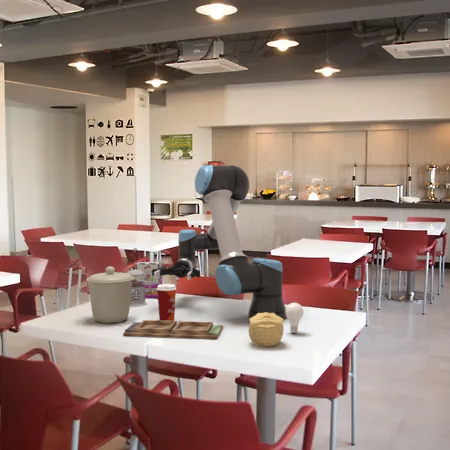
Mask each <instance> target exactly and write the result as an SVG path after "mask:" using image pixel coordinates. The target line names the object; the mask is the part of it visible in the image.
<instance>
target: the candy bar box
mask: <svg viewBox="0 0 450 450" xmlns="http://www.w3.org/2000/svg"><path fill="white" fill-rule="evenodd" d="M135 264H136V270H140V271H142V272H144V273H145V274H144V275H140V276H136V281H142V282H144V283H143V284H140V285H144V292H147V291H148V289H149V282H151V288H150V290H149V291H148V292H147V293H145V299H158V292H157V287H158V285H161V284H163V275H161V276H160V277H158V278H157V279H154V276H152V269H157V268H162V267H163V266H162V262H159V261H138V262H135ZM145 276H146V277H147V279H148V278H149V279H148V280H150V281H149V282H148V280H147V279H146V277H145ZM143 277H145V280H143ZM138 291H139V290H137V292H138ZM138 294H139V293H137V295H138ZM137 297H139V296H137Z"/></svg>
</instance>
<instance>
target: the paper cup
mask: <svg viewBox="0 0 450 450" xmlns="http://www.w3.org/2000/svg"><path fill="white" fill-rule="evenodd" d="M176 291H177V287H176V284H174V283H162V284H161V285H158V287H157V292H158V298H157V301H158V302H157V303H158V304H157V305H158V318H159V320H162V321H175V313H176V312H175V311H176V294H177V293H176Z"/></svg>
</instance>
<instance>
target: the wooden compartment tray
mask: <svg viewBox="0 0 450 450" xmlns="http://www.w3.org/2000/svg"><path fill="white" fill-rule="evenodd" d="M223 330H224V325H223V324H214V321H192V320H191V321H186V320H185V321H184V320H179V321H177V320H174V321H162V320H157V319H155V320H154V319H153V320H152V319H143V320H142V321H141V322H140V321H139V322H137V321H135V322H133V323H132V324H130V325H129V326H128V327H127V328H126V329H124V332H123V333H122V336H123V337H137V338H160V339H161V338H163V339H164V338H167V339H188V340H189V339H193V340H194V339H195V340H218V338H219V336H221V333H222V331H223Z"/></svg>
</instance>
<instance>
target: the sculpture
mask: <svg viewBox="0 0 450 450" xmlns="http://www.w3.org/2000/svg"><path fill="white" fill-rule="evenodd" d="M248 320H249V325H248V336H249V339H250V340H251V342H252V343H253V344H254V345H255V346H259V347H267V348H269V347H273V346H274V347H275V346H277V345H279V343H280V342H281V341H282V339H283V335H284V329H285V328H284V319H283V318H281V317H279V316H277V315H275V314H274V313H267V312H265V313H257V314H256V315H255V316H254V317H252V318H249V319H248Z"/></svg>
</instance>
